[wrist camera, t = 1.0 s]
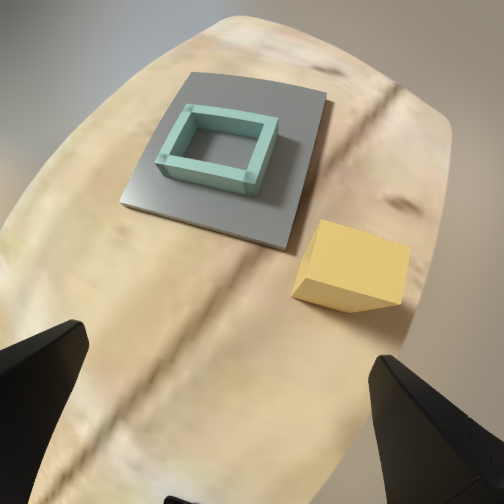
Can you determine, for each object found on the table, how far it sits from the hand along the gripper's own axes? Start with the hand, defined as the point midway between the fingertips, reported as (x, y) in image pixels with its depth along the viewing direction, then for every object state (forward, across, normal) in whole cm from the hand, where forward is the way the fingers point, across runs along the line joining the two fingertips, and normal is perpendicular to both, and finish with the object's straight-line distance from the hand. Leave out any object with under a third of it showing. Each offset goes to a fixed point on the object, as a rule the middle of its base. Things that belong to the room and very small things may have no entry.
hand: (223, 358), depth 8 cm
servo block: (+14, -6, +5) cm, 17 cm away
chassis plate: (+23, +3, -5) cm, 24 cm away
